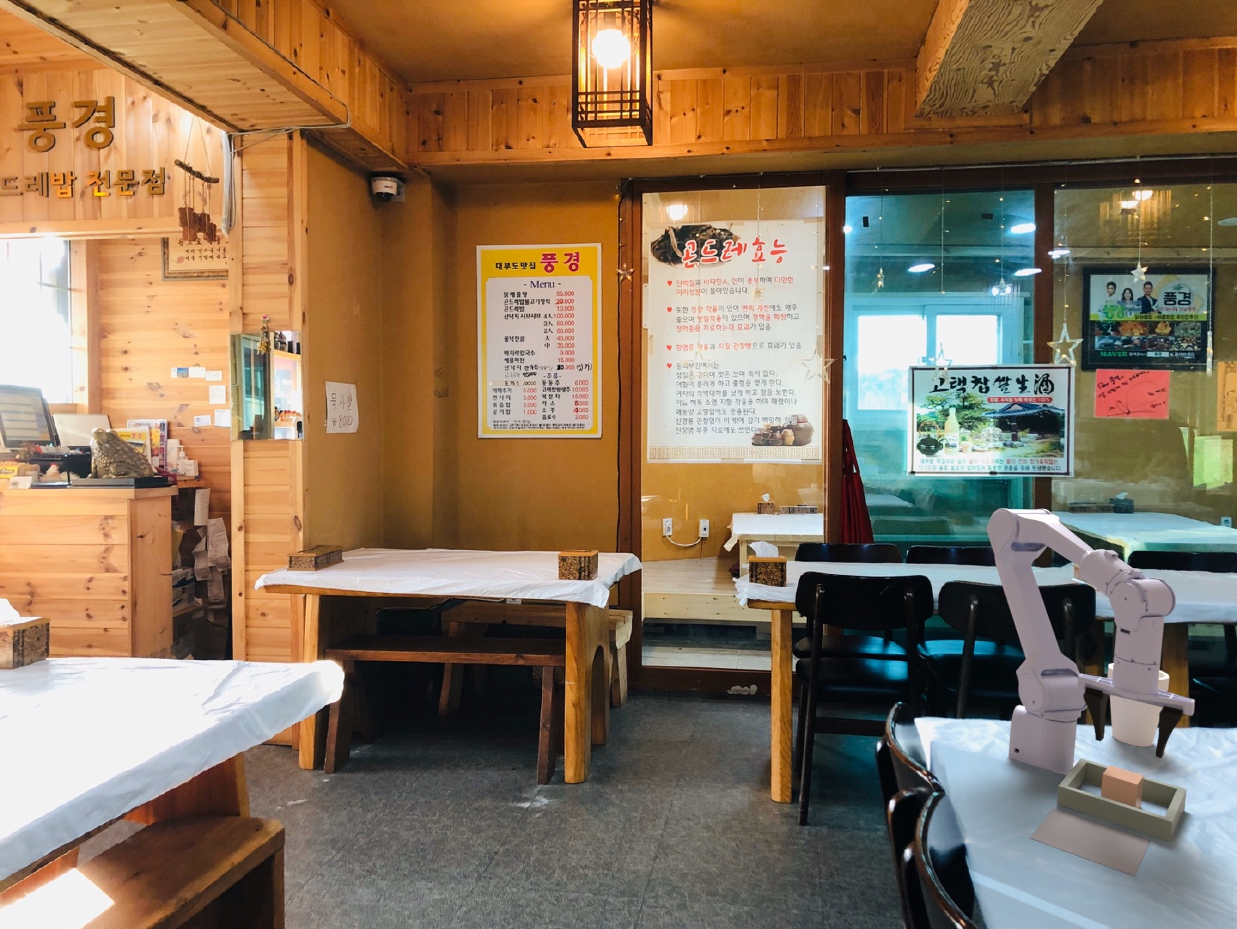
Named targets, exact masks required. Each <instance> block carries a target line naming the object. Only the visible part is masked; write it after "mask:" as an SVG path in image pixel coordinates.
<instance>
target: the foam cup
mask: <svg viewBox="0 0 1237 929" xmlns="http://www.w3.org/2000/svg"><path fill="white" fill-rule="evenodd" d="M1113 664H1114V662H1113V663H1109V664H1108V670H1107V678H1110V679H1112V675H1113ZM1169 684H1170V676H1169V674H1168V673H1166V672H1165V671H1163V670H1160V669H1159V680H1158V689H1160V690H1163V691H1166V692H1168V691H1169ZM1109 700H1110V715H1111V716H1110V718H1111V732H1112V738H1114V739H1116V740H1117V741H1119V742H1122V743H1124V744H1127V745H1131V746H1134V747H1136V746H1137V747H1143V748H1144V747H1148V746H1149V747H1151V745H1152V746H1153V745H1154V741H1155V738H1156V734H1157V730H1158V727H1159V713H1160V711H1161V710H1162V709H1163V707H1159V706H1154V705H1150V704H1146V703H1142V702H1138V701H1134V700H1130V699H1126V698H1121V697H1117V696H1113V695H1109Z"/></svg>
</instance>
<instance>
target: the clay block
mask: <svg viewBox="0 0 1237 929" xmlns="http://www.w3.org/2000/svg"><path fill="white" fill-rule="evenodd" d="M1108 766H1109V767H1108V768H1107V769H1106V771H1105V772H1104V773H1103V777H1102V786H1101V788H1100V789H1101V790H1100V796H1101V797H1104V798H1107V799H1110V800H1113V801H1116V802H1120V803H1123V804H1126V805H1129V806H1132V807H1135V808H1139V809H1142V800H1143V799H1142V790H1143V778H1144V777H1145V776H1144V774H1140V773H1137V772H1134V771H1130V770H1127V769H1123V768H1120V767H1116V766H1113V765H1108Z"/></svg>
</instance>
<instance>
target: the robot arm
mask: <svg viewBox="0 0 1237 929" xmlns="http://www.w3.org/2000/svg"><path fill="white" fill-rule="evenodd" d="M1061 522H1062V521H1061V519H1060V517H1059V516H1057V515H1055V514H1053V513H1052V512H1051V511H1049V510H1048V509H1045V508H1038V509H1015V508H1014V509H1013V508H1012V509H1010V508H1009V509H1008V508H1005V507H1004V508H998V509H996V510H995V511H993V513H992V515H991V517H990V518H989V521H988V524H987V526H986V532H987V536H988V540H989V541H990V545H991V548H992V550H993V554H994V561H995V562H994V563H995V566H996V569H997V572H998V576H999V579H1000V582H1001V586H1002V588H1003V592H1004V595H1005V597H1006V602H1007V604H1008V607H1009V610H1010V613H1011V615H1012V616H1011V617H1012V619H1013V622H1014V625H1015V629H1016V631H1017V634H1018V637H1019V641H1020V645H1021V648H1022V650H1023V654H1024V657H1025V660H1024V661H1023V662H1022V664H1021V665H1020V666H1019V667H1018V668H1017V669H1016V672H1015V673H1016V677H1017V680H1018V696H1019V698H1020V702H1021V703H1022V705H1021V704H1018V705H1016V706H1015V708H1014V710H1013V713H1012V716H1011V717H1012V718H1011V721H1010V722H1011V723H1010V733H1009V742H1008V743H1009V744H1008V756H1007V758H1009V759H1012V760H1015V761H1018V762H1021V763H1023V764H1024V763H1025V764H1028V765H1031V766H1034V767H1038V768H1041V769H1043V770H1048V771H1050V772H1054V773H1057V774H1060V775H1062V776H1063V775H1064V776H1065V777H1066V776H1067V775H1068V773H1069V772H1070V771H1071V770H1072V768H1073V767H1074V766H1075V765H1076V764H1077V762H1078V761H1077V760H1075V749H1076V741H1077V740H1076V736H1077V727H1078V726H1077V725H1078V724H1077V723H1078V718H1081V717H1082V716H1081V715H1082V711H1085V710H1086V709H1088V711H1089V714H1090V718H1091V720H1092V724H1093V728H1094V729H1093V730H1094V734H1095V738H1094V739H1095V741H1098V742H1102V741H1103V739H1104V738H1105V730H1106V727H1105V726H1106V724H1105V723H1106V710H1107V704H1108V697H1109V696H1110V695H1113V696H1117V697H1121V698H1126V699H1130V700H1134V701H1138V702H1142V703H1146V704H1150V705H1154V706H1159V707H1162V710H1161V711H1160V713H1159V723H1158V738H1157V742H1156V747H1155V748H1156V749H1155V758H1159V759H1162V758H1163V756H1164V754H1165V750H1166V748H1167V747H1166V746H1167V743H1168V741H1169V739H1170V737H1171V735H1172V734H1173V733H1172V732H1173V731H1174V729H1175V728H1176V727H1177V725H1178V724H1179V723H1180V721H1181V720H1182V718H1183V716H1184V715H1187V716H1189V717H1190V716H1191V717H1192V716H1193V715H1194V713H1195V702H1196V700H1195V699H1193V698H1189V697H1185V696H1181V695H1179V694H1176V693H1172V692H1170V691H1169V692H1168V691H1163V690H1160V689H1158V680H1159V670H1160V668H1161V667H1160V666H1161V659H1162V658H1161V657H1162V647H1163V638H1164V637H1163V636H1164V634H1163V633H1164V628H1165V627H1164V625H1165V617H1167V616H1169V615H1171V614H1172V613H1173V611H1175V610H1174V609H1175V608H1176V604H1177V597H1176V594H1175V592H1174V589H1173V588H1172V586H1170V585H1169V584H1168V583H1167V582H1166V581H1165V579H1163V578H1160V577H1147V576H1145V575H1143V571H1141V570H1140V569H1139V568H1133V567H1132V566H1130V565H1129V564H1127V563H1126V562H1125V561H1123V560H1122V559H1120V558H1119V553H1117V552H1116V551H1115V550H1112V549H1110V550H1109V549H1107V550H1106V549H1103V548H1101V549H1095V550H1094V549H1093V548H1092V547H1091V546H1090V545H1088V544H1087V543H1086V542H1085V541H1083V540H1082V539H1081V538H1080V537H1078V536H1077V535H1076V534H1075V533H1074V532H1072V531H1071V530H1070V529H1068V528H1067V527H1066V526H1065V525H1064V524H1062V523H1061ZM1047 547H1048V548H1050V549H1051V550H1053V551H1055V552H1056V553H1058V554H1059V555H1061V556H1062V557H1064V558H1065V559H1067V560H1069V561H1070V562H1072V563H1073V564H1075V565H1076V566H1077V567H1078V573H1079V576H1080V577H1081V578H1082V579H1083V581H1086V582H1087V583H1088V584H1090V585H1091V586H1092V587H1094V588H1095V589H1096V590H1097V591H1099V592H1100V593H1101V594H1102V595H1104V596H1105V597H1107V598H1108V599H1109V604H1110V606H1111V608H1112V610H1113V614H1114V621H1113V622H1114V623H1115V625H1116V631H1115V641H1114V642H1115V643H1114V644H1115V645H1114V655H1113V656H1114V657H1113V663H1114V664H1113V675H1112V679H1110V678H1108V677H1104V676H1103V677H1102V676H1095V675H1090V674H1086V673H1085V674H1084V673H1081V672H1080V671H1079V668H1078V665H1077V663H1075V662H1074V661H1073V660H1071V659H1070V658H1069V657H1067V656H1066V655H1064V654H1063V653H1062V652H1061V650H1060V647H1059V645H1058V641H1057V639H1056V635H1055V632H1054V629H1053V627H1052V624H1051V621H1050V618H1049V615H1048V613H1047V610H1046V606H1045V603H1044V600H1043V598H1042V594H1041V592H1040V591H1041V590H1040V589H1039V586H1038V583H1037V579H1036V577H1035V573H1034V571H1033V569H1032V564H1033V562H1035V561H1034V560H1036V559H1038V558H1039V557H1040V556H1041V554H1042V553H1043V552H1045V550H1046V548H1047Z"/></svg>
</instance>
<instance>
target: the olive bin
mask: <svg viewBox="0 0 1237 929" xmlns="http://www.w3.org/2000/svg"><path fill="white" fill-rule="evenodd" d="M1109 766H1110V765H1105V764H1102V763H1098V762H1094V761H1091V760H1087V759H1084V758H1080V759H1079V760H1078V761H1077V764H1076V765H1075V766H1074V767H1073V768H1072V770H1071V771H1070V772H1069V773H1068V775H1067V776H1066V775H1065V777H1064V779H1062V781H1060V783H1059V784H1058V786H1057V795H1056V796H1057V797H1056V798H1057V799H1056V804H1057V805H1059V806H1063V807H1066V808H1069V809H1072V810H1074V811H1076V812H1077V811H1078V812H1081V813H1084V814H1087V815H1090V816H1092V817H1096V818H1098V819H1102V820H1105V821H1108V822H1111V823H1113V824H1117V825H1120V826H1122V827H1125V828H1129V829H1132V830H1136V831H1138V832H1140V833H1144V834H1147V835H1150V836H1153V837H1156V838H1159V839H1161V840H1165V841H1169V842H1171V841H1172V839H1173V837H1174V834H1175V832H1176V829H1177V827H1178V824H1179V823H1180V820H1181V818H1182V815H1183V813H1184V812H1185V808H1186V799H1187V788H1183V787H1180V786H1177V785H1173V784H1170V783H1166V782H1163V781H1160V780H1157V779H1153V778H1149V777H1146V776H1144V778H1143V790H1142V800H1145V801H1148V802H1151V803H1154V804H1157V805H1161V806H1165V807H1168V808H1167V811H1166V813H1165V815H1160V814H1157V813H1154V812H1151V811H1147V810H1144V809H1142V808H1140V809H1139V808H1135V807H1132V806H1129V805H1126V804H1123V803H1120V802H1116V801H1113V800H1110V799H1107V798H1104V797H1101V795H1097V794H1095V793H1094V794H1093V793H1090V792H1088V791H1084V790H1081V789H1079V787H1080V786H1081V785H1082V783H1083V782H1086V783H1090V784H1091V785H1092V784H1093V785H1096V786H1099V787H1102V777H1103V773H1104V772H1105V771H1106V769H1107V768H1108V767H1109Z"/></svg>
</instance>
